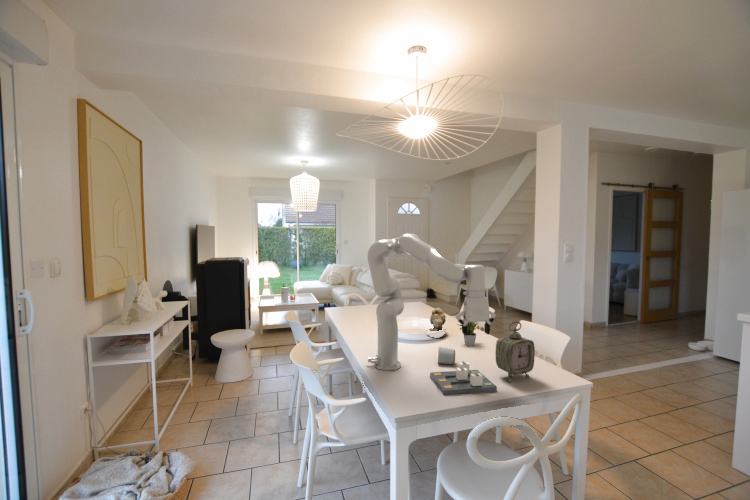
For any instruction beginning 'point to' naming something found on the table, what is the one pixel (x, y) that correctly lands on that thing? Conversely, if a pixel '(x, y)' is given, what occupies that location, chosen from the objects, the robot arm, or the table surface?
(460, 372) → the block
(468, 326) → the house plant
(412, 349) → the table surface
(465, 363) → the far toggle
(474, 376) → the near toggle
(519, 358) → the tabletop clock
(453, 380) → the board
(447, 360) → the ceramic mug
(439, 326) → the owl figurine
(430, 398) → the table surface
